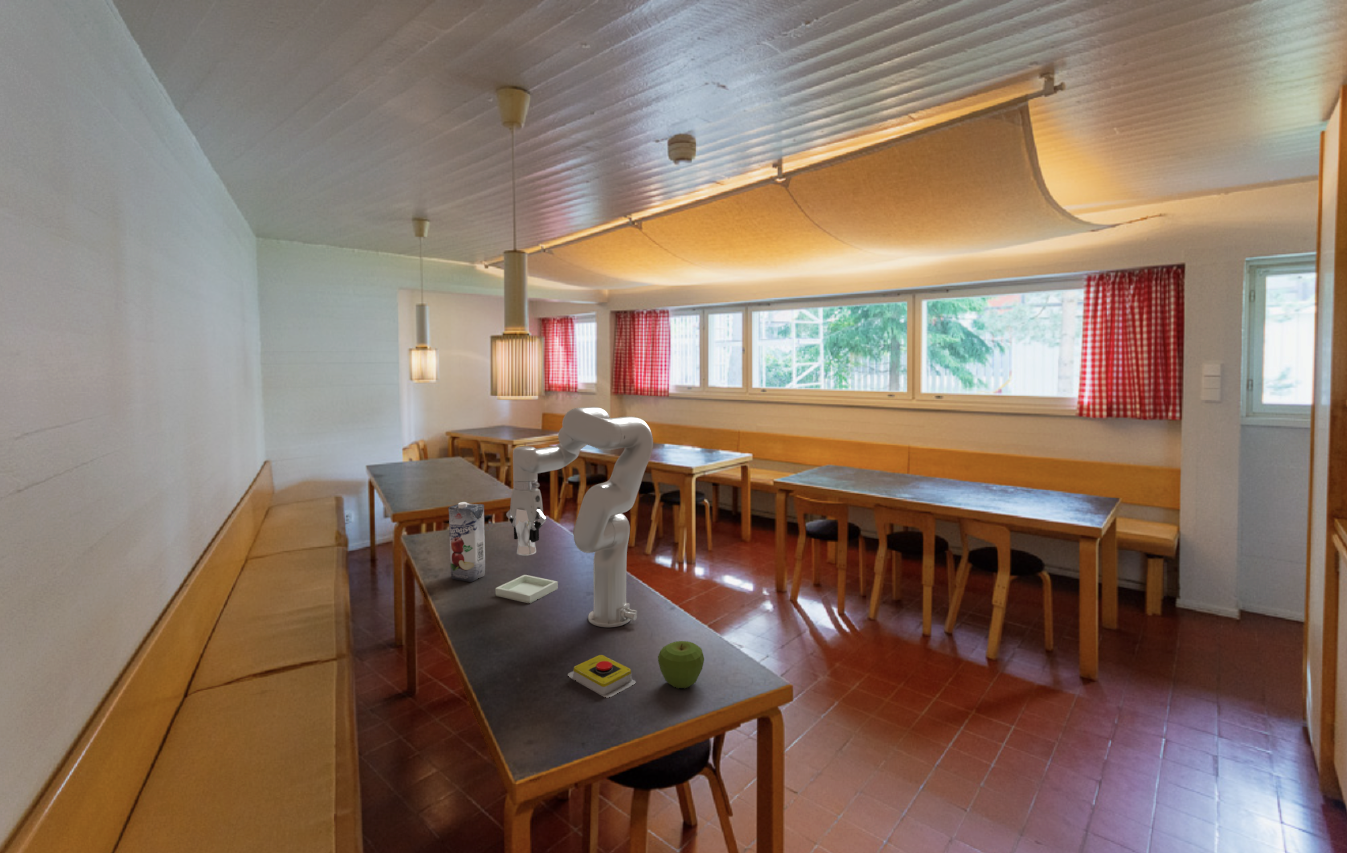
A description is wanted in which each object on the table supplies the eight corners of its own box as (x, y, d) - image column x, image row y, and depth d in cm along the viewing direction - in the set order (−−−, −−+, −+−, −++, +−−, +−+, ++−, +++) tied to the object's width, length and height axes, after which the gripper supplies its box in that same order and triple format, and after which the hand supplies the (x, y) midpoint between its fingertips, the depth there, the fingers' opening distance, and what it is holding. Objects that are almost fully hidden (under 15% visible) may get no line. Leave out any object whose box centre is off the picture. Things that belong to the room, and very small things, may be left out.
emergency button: (607, 682, 129) (565, 659, 139) (607, 701, 130) (565, 677, 140) (637, 666, 136) (595, 646, 146) (637, 685, 137) (595, 663, 147)
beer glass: (511, 553, 190) (510, 507, 188) (528, 548, 195) (527, 503, 194) (524, 557, 185) (523, 510, 184) (542, 552, 191) (541, 507, 189)
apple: (689, 668, 143) (690, 629, 142) (712, 689, 134) (713, 647, 133) (650, 679, 138) (650, 639, 137) (670, 701, 129) (671, 658, 128)
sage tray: (557, 588, 195) (557, 581, 194) (530, 603, 182) (529, 595, 182) (524, 581, 201) (524, 574, 200) (495, 595, 188) (495, 588, 188)
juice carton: (464, 571, 210) (462, 497, 207) (488, 575, 207) (487, 500, 204) (447, 580, 202) (444, 503, 199) (472, 584, 198) (470, 505, 196)
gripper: (554, 485, 188) (555, 540, 189) (512, 480, 195) (513, 533, 197) (539, 490, 181) (540, 546, 183) (496, 484, 188) (497, 539, 190)
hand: (526, 539), depth 190 cm, fingers closed on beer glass, 6 cm apart
